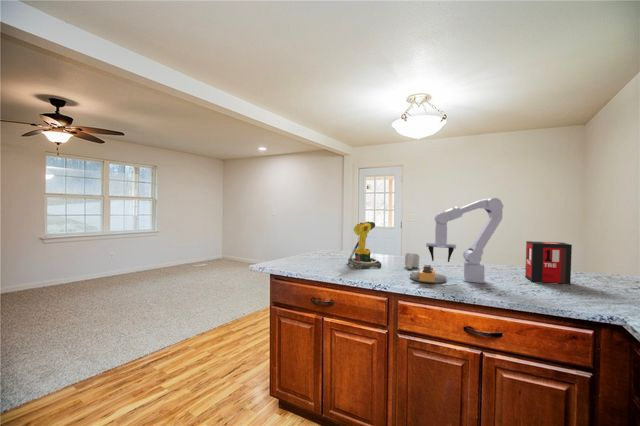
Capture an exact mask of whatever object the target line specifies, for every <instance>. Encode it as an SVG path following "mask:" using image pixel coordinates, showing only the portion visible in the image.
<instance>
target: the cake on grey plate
mask: <svg viewBox="0 0 640 426" xmlns="http://www.w3.org/2000/svg"><path fill="white" fill-rule="evenodd" d="M422 269H424V266H423V268H422ZM431 270H434V267H432V266H431ZM409 275H410V276H409V279H411V281H414V282H417V283H422V284H431V285H432V284H433V285H435V284H438V283H439V284H443V283H444V282H445V283H446V282H447V277H446V276H445V275H443V274H439V273H435V281H434V282H428V281H419V278H418V277H412V273H410V274H409Z"/></svg>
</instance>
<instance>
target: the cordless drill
mask: <svg viewBox="0 0 640 426" xmlns="http://www.w3.org/2000/svg"><path fill="white" fill-rule="evenodd" d="M375 227H376V223H375V222H373V221H364V222H361V223H358V224H356V225H355V226H354V227H353V232H354V233H355V234H356V236H359V237H358V242H356V245H354V248H353V250H352V252H351V254H350V256H349V257H348V260H347V261H348V262H347V263H348V265H352V266H353V268H355V269H359V268H361V269H362V270H363V269H365V270H366V269H367V270H368V269H370V268H378V269H381V268H382V263H381V261H380V260H377V259H375V258H373V257H371V249H368V248H366V239H367V238H368V234H369V232H370V231H372V230H373V229H374V228H375ZM353 256H354V257H353ZM352 257H353V258H352Z"/></svg>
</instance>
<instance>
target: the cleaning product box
mask: <svg viewBox="0 0 640 426" xmlns="http://www.w3.org/2000/svg"><path fill="white" fill-rule="evenodd" d="M525 242H526V244H525V245H526V247H525V275H524V277H525V279H526V278H527V279H528V281H529V280H530V281H531V282H530V281H529V282H530V283H534V282H542V283H541V284H548V283H558V284H557V285H562V284H569V285H568V286H571V280H572V279H571V278H572V277H571V275H572V251H573V248H572V247H573V245H572V244H570V243H567V242H558V241H557V242H556V241H554V242H553V241H531V240H529V241H528V240H527V241H525ZM527 279H526V280H527Z"/></svg>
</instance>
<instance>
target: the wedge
mask: <svg viewBox="0 0 640 426" xmlns="http://www.w3.org/2000/svg"><path fill="white" fill-rule="evenodd" d="M423 267H424V273H431V267H432V266H431V265H430V264H424V265H423Z"/></svg>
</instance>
